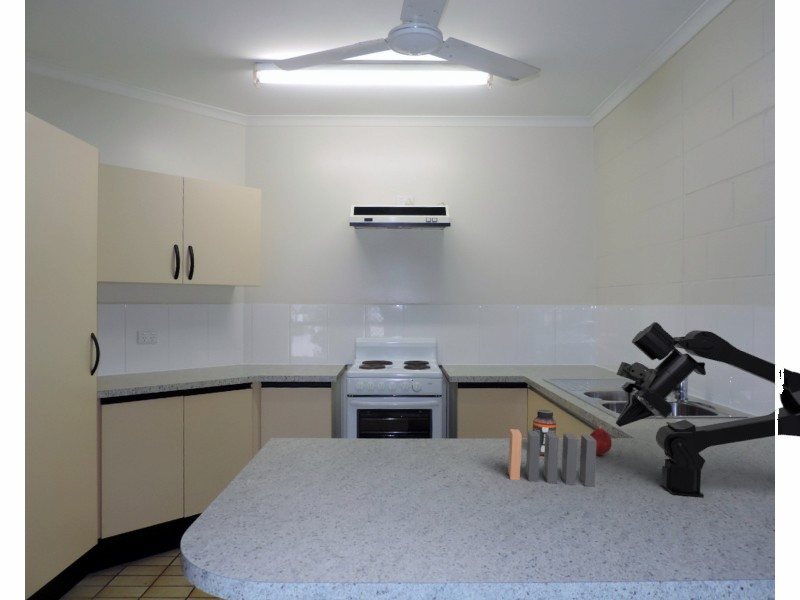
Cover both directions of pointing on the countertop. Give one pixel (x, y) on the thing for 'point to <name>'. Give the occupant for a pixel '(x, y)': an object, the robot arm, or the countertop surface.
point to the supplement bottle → (544, 426)
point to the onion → (601, 441)
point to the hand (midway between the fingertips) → (617, 424)
